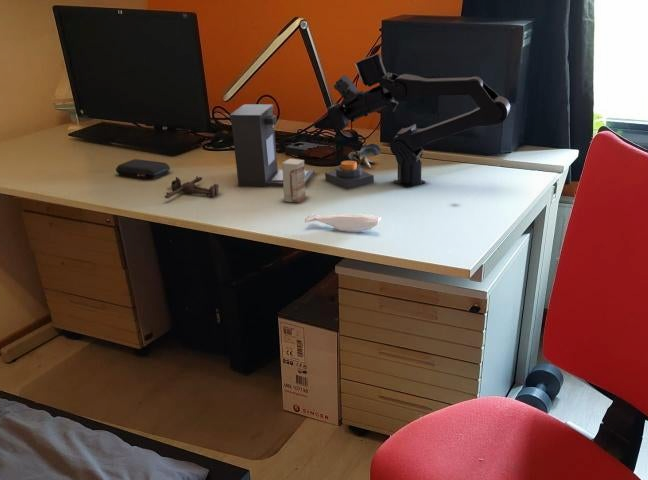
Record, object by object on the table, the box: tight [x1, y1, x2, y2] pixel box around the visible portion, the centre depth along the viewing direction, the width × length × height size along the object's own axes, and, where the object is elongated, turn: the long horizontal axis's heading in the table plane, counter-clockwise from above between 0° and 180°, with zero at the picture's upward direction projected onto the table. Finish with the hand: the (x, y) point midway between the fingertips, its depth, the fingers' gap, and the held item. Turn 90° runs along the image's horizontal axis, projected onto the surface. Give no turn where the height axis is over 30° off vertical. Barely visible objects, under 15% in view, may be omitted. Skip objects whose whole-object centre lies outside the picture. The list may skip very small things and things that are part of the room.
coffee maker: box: [228, 103, 315, 188], centre depth 199 cm, size 19×14×19 cm
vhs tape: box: [284, 141, 335, 158], centre depth 227 cm, size 14×8×2 cm, turn 56°
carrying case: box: [115, 158, 171, 180], centre depth 212 cm, size 11×3×15 cm
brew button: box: [340, 160, 357, 170], centre depth 199 cm, size 4×4×2 cm
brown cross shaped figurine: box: [164, 175, 220, 199], centre depth 195 cm, size 18×4×14 cm
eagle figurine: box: [347, 143, 382, 169], centre depth 212 cm, size 8×7×9 cm
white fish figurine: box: [304, 212, 382, 233], centre depth 169 cm, size 6×18×4 cm, turn 71°
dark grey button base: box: [324, 164, 375, 190], centre depth 200 cm, size 11×9×4 cm
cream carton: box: [281, 158, 307, 204], centre depth 187 cm, size 5×4×10 cm
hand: (320, 122), depth 197 cm, fingers open, 9 cm apart
